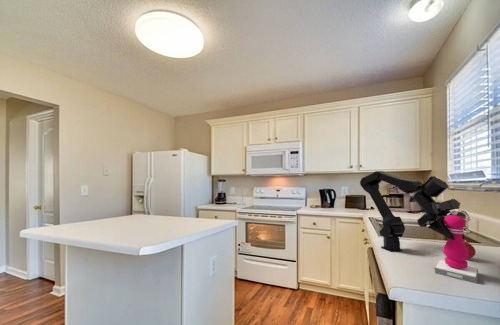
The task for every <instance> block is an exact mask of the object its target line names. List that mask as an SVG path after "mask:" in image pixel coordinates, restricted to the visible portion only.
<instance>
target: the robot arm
mask: <svg viewBox="0 0 500 325" xmlns="http://www.w3.org/2000/svg"><path fill="white" fill-rule="evenodd" d="M382 182H385V183H387V184H390V185H392V186H395V187H397V188H398V189H399V190H400V191H401V192H403V193H405V194H413V195H409V200H408V202H409V203H416V204H417V205H418V207H420V208H421V210H420V212H421V213H422V215H421V216H420V217H419V218H418V219H417V225H418V226H419V228H427V229H431V230H432V231H435V232H436V233H439V234H440V235H442V236H444V237H446V238H447V239H448V238H449V239H451V240H454V239H455V237H454V236H453V235H452V233H451V232H450V231H449V229H448V228H447V225H446V224H445V221H444V219H445V217H446V216H448V215H452V214H451V211H455V210H458V209H460V206H461V202H460V201H458V200H457V199H456V198H451V199H448V200H445V201H442V202H441V201H436V200H435V199H434V198H438V197H439V196H440V195H442V194H443V193H444V192H445V191H446V190H448V189H449V184H448V183H447V182H446V181H445V180H442V179H441V178H437V177H436V176H433V175H432V176H429V177H428V179H427V180H426V181H425V182H424V183H422V182H421V181H420V180H417V179H409V178H403V177H399V176H397V175H395V174H390V173H389V172H385V171H384V170H380V171H379V170H376V171H373V172H372V173H371V174H368V175H366V176H363V177H362V178H361V179H360V180H359V184H360V187H361V188H362V189H363V191H365V192H366V193H367V194H369V196H370V197H371V199H372V201H373V203H374V205H375V206H376V208H377V211H378V212H379V214H380V216H381V218H382V221H381V222H382V228H381V229H380V230H379V231H378V232H379V235H380V237H383V245H382V246H381V249H384V250H386V251H388V252H393V253H394V252H402V251H403V249H401V241H400V238H403V236H404V233H405V230H406V226H405V222H404V221H403V220H402V218H401V217H400V216H396V215H394V214H393V212H392V211H391V209H390V207H389V206H388V204H387V201H386V200H385V198H384V196H383V195H382V193H381V192H380V183H382ZM457 213H458V214H457V215H458V216H461V217H462V218H464V219H465V218H467V217H466V214H465V213H463V212H462V211H457ZM427 223H428V224H429V226H428V224H427ZM427 226H428V227H427ZM465 239H466V236H465V233H463V234H462V240H465Z"/></svg>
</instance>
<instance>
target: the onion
mask: <svg viewBox="0 0 500 325" xmlns="http://www.w3.org/2000/svg"><path fill="white" fill-rule="evenodd" d="M463 243H464V245H465V246H466V248H467V250H468V252H469V258H468V259H467V260H469V259H471V258H473V257H474V256H475V255H476V253H477V252H476V249H475V248H474V246H473V245H472V244H471V243H469V242H468V241H467V240H466V239H463Z"/></svg>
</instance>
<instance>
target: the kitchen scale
mask: <svg viewBox="0 0 500 325" xmlns="http://www.w3.org/2000/svg"><path fill="white" fill-rule="evenodd" d="M434 274H436V275H437V274H438V275H442V276H446V277H450V278H454V279H458V280H461V281H465V282H469V283H474V284H477V283H478V277H479V268H478V267H476V266H472V265H468V267H467V268H456V267H452V266H449V265H447V264H446V263H445V259H444V260H443V259H439V261H438V262H437V264H436V266H435V267H434Z"/></svg>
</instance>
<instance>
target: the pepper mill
mask: <svg viewBox="0 0 500 325" xmlns="http://www.w3.org/2000/svg"><path fill="white" fill-rule="evenodd" d="M457 212H458V211H456V210H451V211H450V213H451V214H452V215H449V214H447V216H446V217H445V219H444V221H445V225H447V228H448V229H449V231H450V232H451V233H452V235H453V236H454V237H455V239H454V240H451V239H449V238H447V240H446V242H445V244H444V245H443V247H442V248H443V249H442V253H443V255H444V256H445V257H444V261H445V263H446V264H447V265H449V266H452V267H456V268H467V267H468V266H469V265H468V261H467V260H469V259H470V258H469V252H468V250H467V248H466V246H465V245H464V243H463V242H464V239H462V234H465V229H464V227H465V226H467V225H466V224H467V223H466V222H467V221H466V220H465V218H462V217H461V216H458V215H457V214H458V213H457ZM468 258H469V259H468Z"/></svg>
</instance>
